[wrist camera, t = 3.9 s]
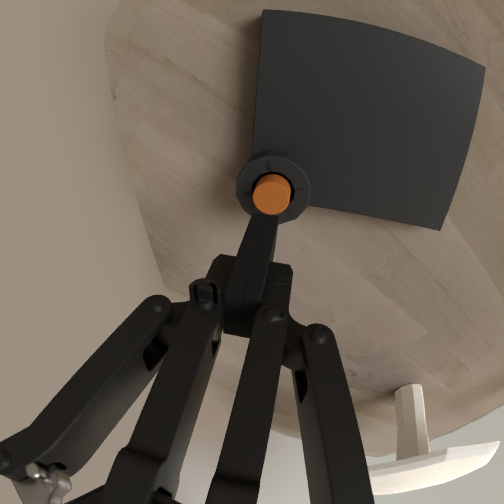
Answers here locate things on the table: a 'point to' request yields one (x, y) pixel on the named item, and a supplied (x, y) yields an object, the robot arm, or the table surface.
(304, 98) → the scale
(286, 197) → the scale button
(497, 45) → the table surface
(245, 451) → the robot arm
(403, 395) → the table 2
